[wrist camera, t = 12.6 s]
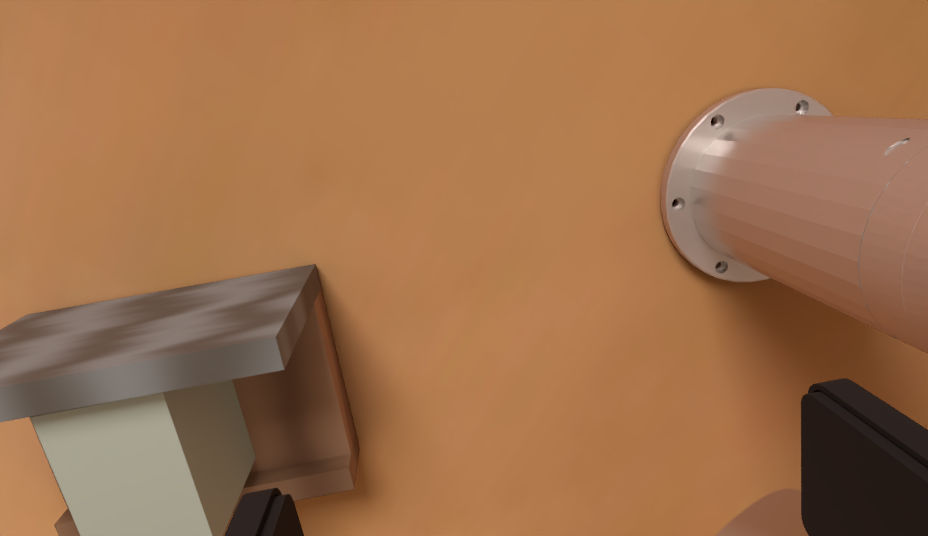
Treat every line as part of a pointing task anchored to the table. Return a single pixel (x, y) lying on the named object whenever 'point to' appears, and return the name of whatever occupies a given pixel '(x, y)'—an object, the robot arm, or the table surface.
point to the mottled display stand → (201, 369)
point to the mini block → (151, 462)
